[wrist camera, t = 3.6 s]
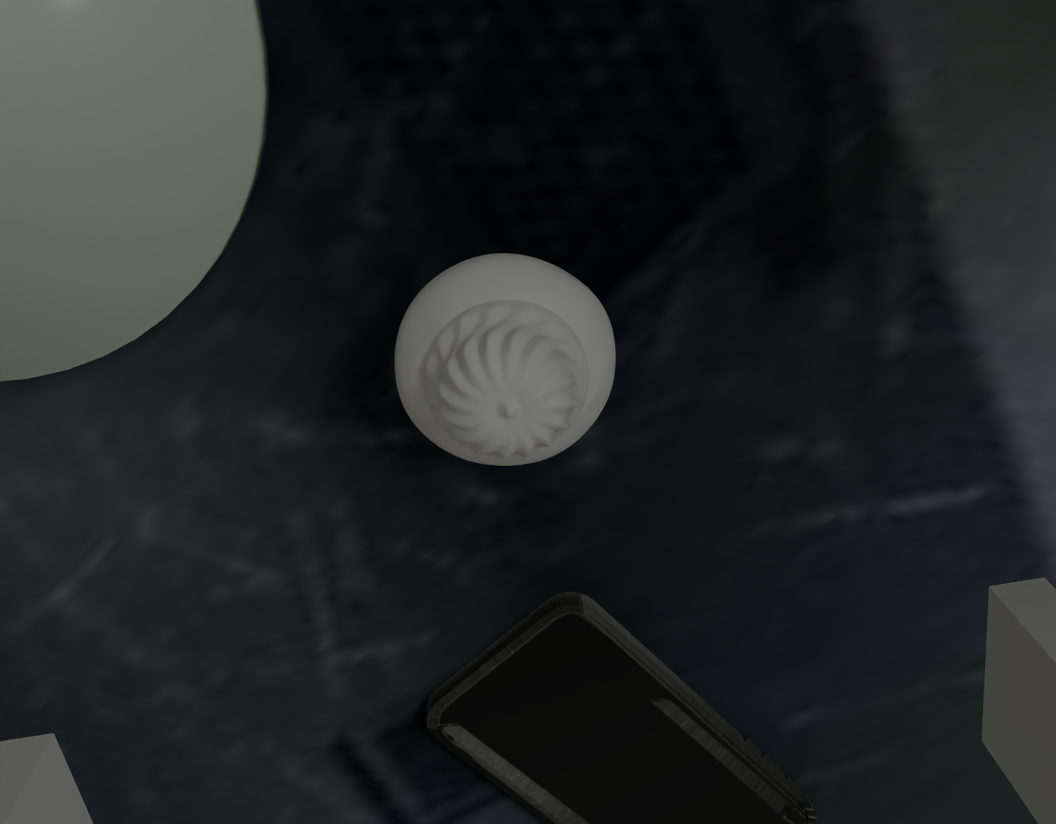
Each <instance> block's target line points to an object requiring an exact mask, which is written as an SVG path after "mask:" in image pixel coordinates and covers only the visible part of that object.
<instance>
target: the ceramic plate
mask: <svg viewBox="0 0 1056 824" xmlns="http://www.w3.org/2000/svg"><path fill="white" fill-rule="evenodd" d="M269 100H270V84H269V65H268V48H267V42H266V36H265V31H264V25H263V19H262V14H261V8H260V2H259V0H0V381H9V380H19V379H29V378H33V377H38V376H42V375H47V374H51V373H56V372H60V371H65V370H68V369H71V368H74V367H76V366H79V365H82V364H84V363H87V362H90V361H93V360H95V359H98V358H101V357H103V356H105V355H107V354H109V353H111V352H112V351H114V350H116V349H118V348H120V347H122V346H124V345H126V344H127V343H129V342H131V341H133V340H135V339H137V338H138V337H139V336H141V335H142V334H143V333H145V332H146V331H147V330H149V329H150V328H151V327H153V326H154V325H156V324H157V323H158V322H160V321H161V320H162V319H164V318H165V317H166V316H167V315H168V314H169V313H170V312H171V311H172V310H173V309H174V308H175V307H176V306H177V305H178V304H179V303H180V302H182V301H183V300H184V299H185V298H186V297H187V296H188V295H189V294H190V293H191V292H192V291H193V290H194V288H195V287H196V286H197V285H198V284H199V283H200V282H201V281H202V280H203V278H204V277H205V276H206V275H207V273H208V272H209V270H210V269H211V268H212V266H213V265H214V264H215V262H216V261H217V260H218V258H219V257H220V256H221V254H222V253H223V252H224V250H225V249H226V248H227V246H228V244H229V242H230V240H231V238H232V236H233V235H234V233H235V231H236V229H237V227H238V225H239V223H240V221H241V220H242V218H243V216H244V214H245V211H246V209H247V206H248V203H249V200H250V198H251V195H252V192H253V189H254V187H255V184H256V181H257V178H258V175H259V170H260V165H261V161H262V156H263V151H264V147H265V142H266V137H267V126H268V113H269Z"/></svg>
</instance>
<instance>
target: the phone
mask: <svg viewBox="0 0 1056 824" xmlns="http://www.w3.org/2000/svg"><path fill="white" fill-rule="evenodd" d="M535 613H536V615H535V616H534V614H535ZM505 640H506V641H505ZM503 641H505V642H504V643H503V644H502V645H500V644H501V643H502V642H503ZM498 645H500V646H499V647H498V648H497V649H495V648H496V647H497V646H498ZM494 649H495V650H494ZM492 650H494V651H493V652H492V653H490V652H491V651H492ZM489 653H490V654H489ZM488 654H489V655H488ZM427 727H428V729H429V732H430V733H431V734H432V736H433V737H434V738H435V739H436V740H438V741H439V742H440V743H442V744H443V745H444V746H445V747H447V748H448V749H449V750H451V751H452V752H453V753H454V754H456V755H457V756H458V757H460V758H461V759H462V760H463V761H465V762H466V763H467V764H469V765H470V766H471V767H473V768H474V769H475V770H476V771H478V772H479V773H480V774H482V775H483V776H484V777H485V778H487V779H488V780H489V781H491V782H492V783H493V784H494V785H496V786H497V787H498V788H500V789H501V790H502V791H504V792H505V793H506V794H507V795H509V796H510V797H511V798H513V799H514V800H515V801H516V802H518V803H519V804H520V805H522V806H523V807H524V808H525V809H527V810H528V811H529V812H531V813H532V814H533V815H535V816H536V817H537V818H538V819H540V820H541V821H542V822H544V823H545V824H816V820H817V817H816V813H815V810H814V808H813V805H812V803H811V801H810V798H809V797H808V795H807V794H806V793H805V792H804V791H803V790H802V789H801V788H800V787H799V786H798V785H797V784H796V783H795V781H793V780H792V779H791V778H790V777H789V776H788V775H786V774H785V773H784V772H782V771H781V770H780V769H779V767H778V766H777V765H776V764H775V763H774V762H773V761H772V760H771V759H770V758H769V757H768V756H766V755H765V754H764V753H762V752H760V749H759V748H758V747H757V746H756V745H755V744H754V743H753V742H752V741H751V740H749V739H748V738H747V737H744V736H743V735H742V734H741V733H739V732H738V731H737V730H736V729H735V728H734V727H733V726H732V725H731V724H730V723H728V722H727V721H726V720H725V719H724V718H723V717H722V716H721V715H720V714H719V713H717V712H716V711H715V710H714V709H713V708H712V707H711V706H710V705H709V704H708V703H706V702H705V701H704V700H703V699H702V698H701V697H700V696H699V695H698V694H696V693H695V692H694V691H693V690H692V689H691V688H690V687H689V686H688V685H687V684H685V683H684V682H683V681H682V680H681V679H680V678H679V677H678V676H677V675H676V674H674V673H673V672H672V671H671V670H670V669H669V668H668V667H667V666H666V665H665V664H663V663H662V662H661V661H660V660H659V659H658V658H657V657H656V656H655V655H654V654H652V653H651V652H650V651H649V650H648V649H647V648H646V647H645V646H644V645H642V644H641V643H640V642H639V641H638V640H637V639H636V638H635V637H634V636H633V635H631V634H630V633H629V632H628V631H627V630H626V629H625V628H624V627H623V626H622V625H620V624H619V623H618V622H617V621H616V620H615V619H614V618H613V617H612V616H611V615H609V614H608V613H607V612H606V611H605V610H604V609H603V608H602V607H601V606H600V605H598V604H597V603H596V602H595V601H594V600H593V599H591V598H590V597H588V596H587V595H584V594H581V593H577V592H564V593H560V594H556V595H554V596H552V597H551V598H549V599H547V600H546V601H545V602H543V603H542V604H541V605H540V606H538V607H537V608H536V609H535V610H534V611H532V612H531V613H530V614H529V615H527V616H526V617H525V618H524V619H522V620H521V621H520V622H519V623H517V624H516V625H515V626H514V627H512V628H511V629H510V630H509V631H507V632H506V633H505V634H504V635H502V636H501V637H500V638H499V639H497V640H496V641H495V642H494V643H493V644H491V645H490V646H489V647H488V648H486V649H485V650H484V651H483V652H481V653H480V654H479V655H478V656H476V657H475V658H474V659H473V660H471V661H470V662H469V663H468V664H466V665H465V666H464V667H463V668H461V669H460V670H459V671H458V672H457V673H455V674H454V675H453V676H452V677H450V678H449V679H448V680H447V681H445V682H444V683H443V684H442V685H440V686H439V687H438V688H437V689H436V690H435V691H434V692H433V693H432V694H431V695H430V698H429V700H428V703H427Z"/></svg>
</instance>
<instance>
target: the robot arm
mask: <svg viewBox="0 0 1056 824" xmlns="http://www.w3.org/2000/svg"><path fill="white" fill-rule="evenodd" d="M982 742H983V743H984V744H985V746H986V747H987V749H988V750H989V752H990V753H991V755H992V756H993V758H994V759H995V761H996V762H997V764H998V765H999V766H1000V768H1001V769H1002V771H1003V772H1004V774H1005V775H1006V777H1007V778H1008V780H1009V781H1010V783H1011V784H1012V786H1013V787H1014V789H1015V790H1016V791H1017V793H1018V794H1019V796H1020V797H1021V799H1022V800H1023V802H1024V803H1025V805H1026V806H1027V808H1028V809H1029V811H1030V812H1031V814H1032V815H1033V816H1034V818H1035V819H1036V821H1037V822H1038V824H1056V589H1055V588H1054V587H1053V586H1052V585H1051V584H1050V583H1049V582H1048V581H1047V580H1046V579H1045V578H1039V579H1033V580H1027V581H1020V582H1014V583H1007V584H1001V585H995V586H989V601H988V622H987V643H986V664H985V684H984V705H983V726H982ZM0 824H93V822H92V820H91V818H90V815H89V813H88V811H87V808H86V806H85V804H84V802H83V799H82V797H81V795H80V792H79V790H78V788H77V786H76V783H75V781H74V779H73V776H72V774H71V772H70V770H69V767H68V765H67V763H66V760H65V758H64V756H63V753H62V751H61V749H60V747H59V744H58V742H57V740H56V737H55V735H54V733H51V734H45V735H39V736H32V737H26V738H20V739H13V740H7V741H0Z"/></svg>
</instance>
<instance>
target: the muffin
mask: <svg viewBox="0 0 1056 824" xmlns="http://www.w3.org/2000/svg"><path fill="white" fill-rule="evenodd" d="M615 356H616V351H615V341H614V335H613V330H612V326H611V323H610V320H609V318H608V315H607V313H606V311H605V309H604V307H603V306H602V304H601V303H600V301H599V300H598V299H597V297H596V296H595V295H594V294H593V293H592V292H591V291H590V290H589V289H588V288H587V287H586V286H585V285H584V284H583V283H582V282H580V281H579V280H578V279H576V278H575V277H574V276H572V275H571V274H569V273H567V272H566V271H564V270H563V269H561V268H559V267H557V266H555V265H553V264H550V263H548V262H546V261H543V260H540V259H537V258H533V257H530V256H525V255H519V254H509V253H497V254H487V255H482V256H478V257H474V258H471V259H468V260H465V261H463V262H460V263H458V264H456V265H454V266H452V267H450V268H448V269H447V270H445V271H443V272H442V273H440V274H439V275H437V276H436V277H435V278H434V279H432V280H431V281H430V282H429V283H428V284H427V285H426V286H424V288H423V289H422V290H421V291H420V292H419V293H418V294H417V295H416V297H415V298H414V300H413V301H412V303H411V304H410V306H409V307H408V309H407V311H406V313H405V315H404V318H403V320H402V322H401V325H400V328H399V332H398V336H397V341H396V347H395V376H396V383H397V388H398V392H399V396H400V399H401V401H402V404H403V406H404V408H405V410H406V412H407V414H408V416H409V417H410V419H411V420H412V421H413V423H414V424H415V425H416V427H417V428H418V429H419V430H420V431H421V432H422V433H423V434H424V435H425V436H426V437H427V438H428V439H430V440H431V441H432V442H433V443H435V444H436V445H438V446H439V447H440V448H442V449H444V450H445V451H447V452H449V453H451V454H453V455H455V456H457V457H460V458H462V459H465V460H468V461H472V462H476V463H480V464H488V465H499V466H510V465H522V464H528V463H533V462H537V461H541V460H544V459H547V458H549V457H552V456H554V455H556V454H558V453H560V452H562V451H563V450H565V449H566V448H568V447H569V446H571V445H572V444H573V443H575V442H576V441H577V440H578V439H579V438H580V437H582V436H583V435H584V434H585V433H586V431H587V430H588V429H589V428H590V427H591V426H592V424H593V423H594V422H595V420H596V419H597V418H598V416H599V414H600V413H601V411H602V410H603V408H604V406H605V404H606V402H607V399H608V397H609V394H610V391H611V388H612V384H613V380H614V373H615Z"/></svg>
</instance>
